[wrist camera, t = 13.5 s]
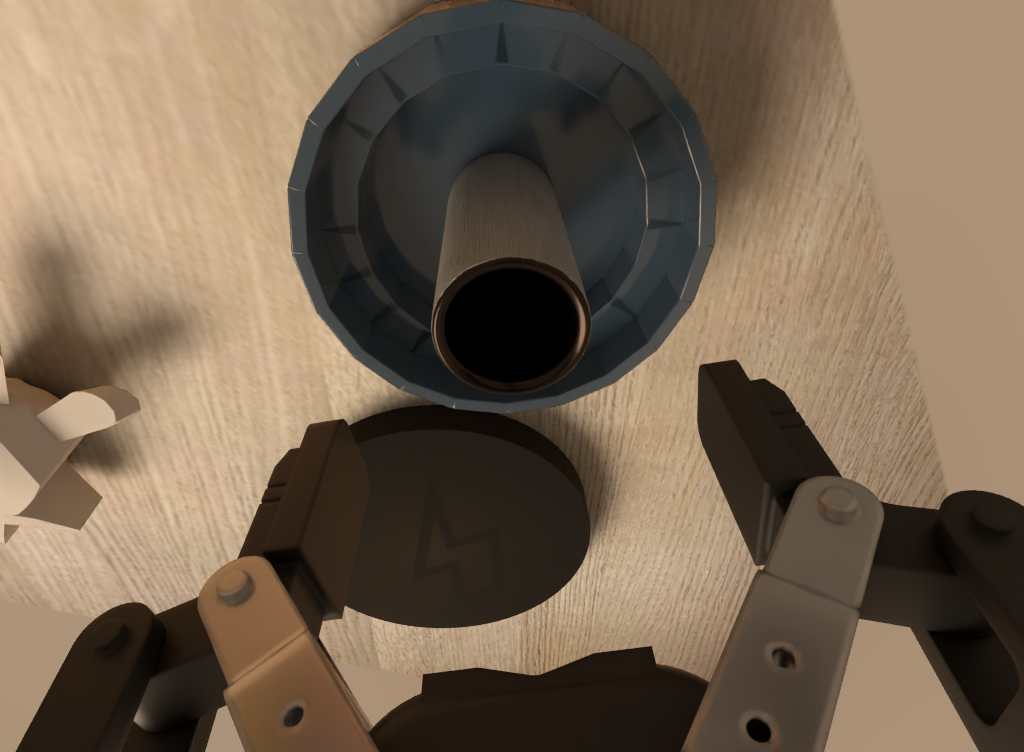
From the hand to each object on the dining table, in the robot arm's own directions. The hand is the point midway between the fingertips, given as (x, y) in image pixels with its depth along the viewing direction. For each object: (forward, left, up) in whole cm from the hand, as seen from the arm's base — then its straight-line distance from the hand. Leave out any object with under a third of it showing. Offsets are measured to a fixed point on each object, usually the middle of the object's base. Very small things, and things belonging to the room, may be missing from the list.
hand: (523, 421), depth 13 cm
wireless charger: (+19, -7, -15) cm, 25 cm away
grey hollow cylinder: (0, 0, -14) cm, 14 cm away
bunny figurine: (+7, -26, -15) cm, 31 cm away
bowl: (0, 0, -15) cm, 15 cm away
